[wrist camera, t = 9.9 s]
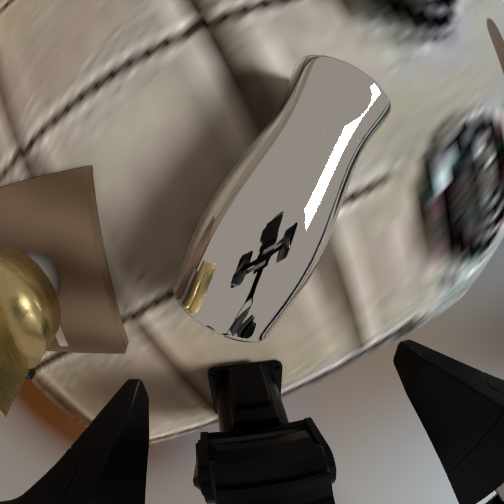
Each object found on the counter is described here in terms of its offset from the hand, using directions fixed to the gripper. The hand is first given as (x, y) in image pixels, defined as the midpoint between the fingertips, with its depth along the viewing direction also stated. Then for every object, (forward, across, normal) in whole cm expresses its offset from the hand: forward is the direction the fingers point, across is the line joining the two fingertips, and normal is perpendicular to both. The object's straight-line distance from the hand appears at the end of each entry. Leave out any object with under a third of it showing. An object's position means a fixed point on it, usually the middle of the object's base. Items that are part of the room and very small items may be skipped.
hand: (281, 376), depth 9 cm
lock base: (+12, +15, 0) cm, 19 cm away
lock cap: (+7, +15, +1) cm, 17 cm away
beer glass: (+9, -6, -11) cm, 15 cm away
